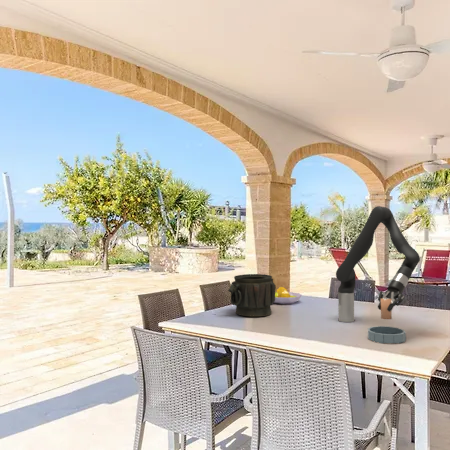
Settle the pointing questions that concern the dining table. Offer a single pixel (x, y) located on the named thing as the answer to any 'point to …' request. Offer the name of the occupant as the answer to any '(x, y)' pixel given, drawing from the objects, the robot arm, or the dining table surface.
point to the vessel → (253, 294)
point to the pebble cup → (385, 308)
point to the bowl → (386, 334)
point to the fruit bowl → (285, 296)
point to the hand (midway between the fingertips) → (383, 309)
